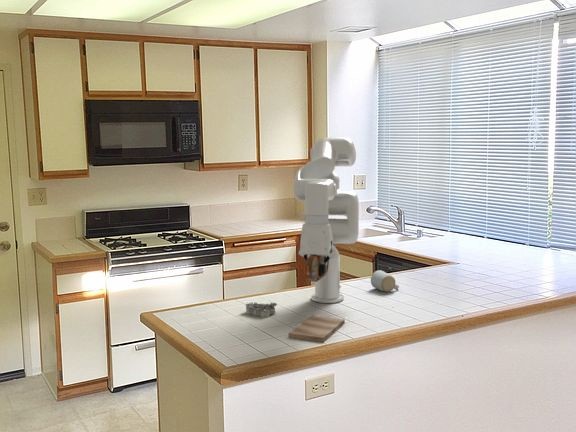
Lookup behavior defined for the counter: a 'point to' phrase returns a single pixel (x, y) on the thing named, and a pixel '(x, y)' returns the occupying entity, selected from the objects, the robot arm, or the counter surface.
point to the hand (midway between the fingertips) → (317, 274)
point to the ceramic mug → (383, 281)
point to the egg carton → (260, 309)
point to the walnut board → (317, 328)
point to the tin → (314, 268)
